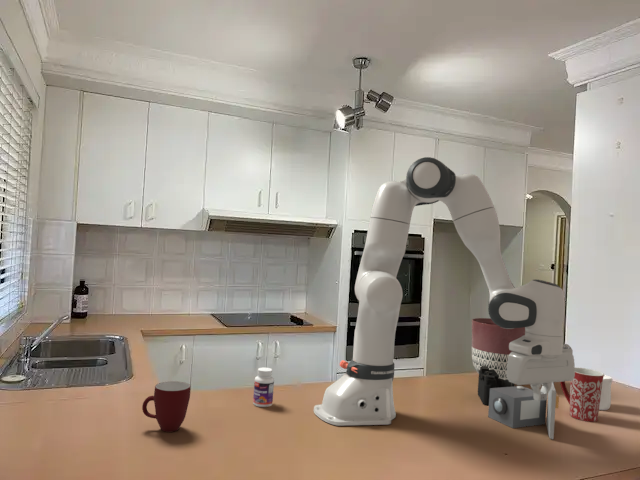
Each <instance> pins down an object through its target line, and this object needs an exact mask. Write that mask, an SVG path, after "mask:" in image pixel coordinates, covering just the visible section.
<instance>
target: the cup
mask: <svg viewBox="0 0 640 480" xmlns="http://www.w3.org/2000/svg"><path fill="white" fill-rule="evenodd" d="M612 383H613V377H611V376H609V375H606V374H604V377H603V383H602V390H601V398H600V405H599V411H607V410H609V409H610V407H611V405H612Z"/></svg>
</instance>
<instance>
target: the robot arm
mask: <svg viewBox="0 0 640 480" xmlns="http://www.w3.org/2000/svg"><path fill="white" fill-rule="evenodd" d="M437 202H442V203H443V204H445V206H446V207H447V209H448V211H449V213H450V216H451V220H452V222H453V225H454V227H455V230H456V232H457V234H458V236H459V237H460V240H461V241H462V243H463V244H464V246H465V247H466V248H467V249H468V250H469V252H471V254H472V255H473V256H474V257H475V259H476V261H477V262H478V264H479V266H480V269H481V271H482V274H483V277H484V280H485V283H486V285H487V290H488V301H487V302H488V305H487V306H488V315H489V318H491V320H492V321H493V322H494V323H495V324H496V325H498V326H500V327H502V328H506V329H513V328H523V327H525V335H524V336H522V337H520V338H518V339H516V340H514V341H512V342H510V343H509V350H511V351H512V352H511V353H510V354H509V356H508V362H507V379H508V380H509V382H511V383H514V385H516V386H522V385H524V386H525V385H530V389H532V390H533V392H534V395H533V398H534V400H537V401H541V400H547V401H548V392H549V390H550V389H551V387H552V382H554V383H560V382H563V381H565V382H570V381H572V380H573V378H574V376H575V368H576V367H575V358H574V357H575V356H574V354H573V348H572V347H571V346H570V345H569V344H567V343H564V332H563V322H564V320H565V314H566V308H565V307H566V305H565V293H564V290H563V289H562V287H561V286H559V285H558V284H556V283H554V282H551V281H546V280H541V279H531V280H530V281H529V282H526V283H525V284H522V285H519V286H517V287H515V286H514V283H512V280H511V277H510V275H509V272H508V270H507V267H506V264H505V262H504V259H503V256H502V255H503V254H502V251H501V228H500V222H499V218H498V215H497V211H496V208H495V206H494V203H493V201H492V199H491V196H490V194H489V193H488V190H487V189H486V187H485V185H484V184H483V182H482V180H481V179H480V177H479V176H477V175H476V174H473V173H465V174H464V173H463V174H459V175H456V173H455V172H454V171H453V170H452V169H450V168H449V167H448V166H447V165H445V163H443V162H442V161H440V159H437V158H434V157H431V156H430V157H429V156H425V157H422V158H419V159H417V160H415V161H414V162H413V163H412V164H411V165H410V166H409V168H408V170H407V171H406V178H405V179H404V180H400V181H397V180H389V181H386V182H384V183H382V184H381V185H380V186H379V188H378V190H377V192H376V195H375V198H374V201H373V205H372V208H371V211H370V218H369V222H368V228H367V232H366V239H365V244H364V248H363V252H362V255H361V259H360V262H359V263H360V264H359V267H358V271H357V274H356V279H355V284H354V295H355V297H356V299H357V300H358V304H359V305H358V309H357V318H356V323H355V329H354V336H353V349H352V350H353V352H352V358H351V360H350V361H349V363H348V361H345V359H344V360H343V359H342V360H340V362H339V367H340V368H341V369H344V370H346V371H345V373H344V374H343V375H341V376H340V377H339V378H338V379H337V380H336V381H334V382H333V383H331V384H330V385H329V386H328V387H326V389H325V391H324V392H323V393H324V394H323V398H322V401H321V404H315V405H314V406H313V413H314V414H315V415H316V417H318V418H319V419H320V420H322V421H323V422H326V423H328V424H330V425H333V426H337V427H338V426H339V427H341V426H344V427H345V426H373V425H374V426H378V425H379V426H380V425H383V426H384V425H388V426H389V425H391V424H392V421H393V420H394V419H395V418H397V417H396V416H397V413H396V409H395V403H394V391H393V389H394V388H393V382H394V377H395V362H394V357H395V341H396V340H395V339H396V331H397V326H398V322H399V316H400V310H401V304H402V300H403V294H404V293H403V288H402V285H401V283H400V281H399V280H398V279H397V275H398V273H399V269H400V266H401V263H402V260H403V257H404V256H405V253H406V250H407V244H408V237H409V232H410V226H411V220H412V214H413V211H414V208H415V207H418V206H425V205H434V204H436V203H437Z"/></svg>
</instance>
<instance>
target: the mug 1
mask: <svg viewBox="0 0 640 480" xmlns="http://www.w3.org/2000/svg"><path fill="white" fill-rule="evenodd" d="M191 387H192V386H191V384H189V383H187V382H185V381H177V380H175V381H173V380H172V381H171V380H170V381H164V382H163V381H162V382H159V383H157V384H155V386H154V393H153V395H149V396H147V397H146V398H145V399H144V401H143V402H142V407H141V409H142V412H143V414H144V415H145V416H146V417H148V418H151V419H156V422H157V424H158V425H159V427H160V430H161V431H163V432H167V433H168V432H169V433H170V432H171V433H173V432H176V431H179V429H180V428H181V426H182V424H183V423H184V420H185V418H186V415H187V412H188V411H187V410H188V407H189V402H190V399H191V398H190V397H191ZM149 402H153V403H154V409H155V410H154V411H155V414H153V413H150V412H149V411H148V403H149Z"/></svg>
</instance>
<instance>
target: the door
mask: <svg viewBox="0 0 640 480" xmlns="http://www.w3.org/2000/svg"><path fill="white" fill-rule="evenodd" d="M559 402H560V395H559V393H557V391H556V388H555V382H552V387H551V389H550V390H549V392H548V395H547V404H546V421H545V425H546V428H547V433H548V437H549V439H551V440H554V437H555V435H554V434H555V420H556V409H559V405H560V404H559Z"/></svg>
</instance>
